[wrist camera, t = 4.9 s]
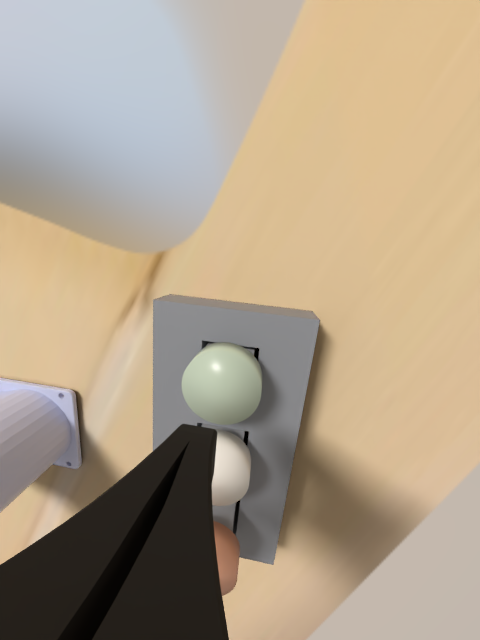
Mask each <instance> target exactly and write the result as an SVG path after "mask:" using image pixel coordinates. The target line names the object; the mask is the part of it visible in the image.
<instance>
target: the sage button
mask: <svg viewBox="0 0 480 640" xmlns="http://www.w3.org/2000/svg"><path fill="white" fill-rule="evenodd" d="M254 354H255V348H254V347H246V346H240V345H237V344H234V343H230V342H209V343H208V344H207V345H206V347H204V348H203V349H202V350H200V351H199V352H198V354H197V355H196V356H195V357H194V358H193V360H192V361H191V362H190V363H189V365H188V366H187V368H186V369H185V371H184V374H183V377H182V393H183V396H184V399H185V401H186V403H187V404H188V406H189V407H190V408H191V410H192V411H193V412H194V413H195V414H197V415H198V416H199V417H201V418H202V419H204V420H206V421H208V422H211V423H215V424H221V425H230V424H235V423H239V422H241V421H243V420H245V419H247V418H248V417H250V416H251V415H252V414H253V413H254V411H255V410H256V409H257V407H258V405H259V402H260V399H261V391H262V371H261V367H260V365H259V363H258V361H257V359H256V358H255V357H254Z"/></svg>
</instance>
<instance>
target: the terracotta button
mask: <svg viewBox="0 0 480 640" xmlns="http://www.w3.org/2000/svg"><path fill="white" fill-rule="evenodd" d="M212 506H213V505H212ZM235 508H236V503H233V504H230V505H226V506H213V522H214V534H215V544H216V554H217V562H218V570H219V578H220V586H221V593H222V596H223V595H225V594H227V593H229V592H230V591H231V590H233V588H234V587H235V585H236V582H237V574H238V565H239V555H240V544H239V541H238V539H237V537H236V536H235V534H234V533H233V532H232V531H233V524H234V517H235Z"/></svg>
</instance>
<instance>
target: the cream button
mask: <svg viewBox="0 0 480 640" xmlns="http://www.w3.org/2000/svg"><path fill="white" fill-rule="evenodd" d="M201 427H206V428H212V429H215V430H216V431H217V444H216V455H215V467H214V475H213V480H212V505H213V506H226V505H230V504H233V503H236V502H237V501H239V500H240V499H241V498H243V496H244V495H245V494H246V492H247V490H248V487H249V481H250V470H251V455H250V451H249V449H248V447H247V446H246V444H245V443H244V437H245V431H243V430H238V429H232V428H226V427H220V426H215V425H209V424H202V426H201Z"/></svg>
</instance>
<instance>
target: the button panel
mask: <svg viewBox="0 0 480 640" xmlns="http://www.w3.org/2000/svg"><path fill="white" fill-rule="evenodd" d="M319 322H320V320H319V318H318V317H317V316H316V315H315V314H314V313H313V311H306V310H298V309H290V308H281V307H273V306H264V305H256V304H248V303H239V302H231V301H222V300H214V299H206V298H197V297H189V296H180V295H172V294H170V295H166V296H163V297H160V298H157V299H154V300H153V451H154V450H155V449H156V448H157V447H158V446H159V445H160V444H161V443H162V442H163V441H165V440H166V439H167V438H168V437H169V436H170V435H171V434H172V433H173V432H174V431H175V430H176V429H177V428H178V427H179V426H180V425H181V424H189V425H194V426H200V427H201V426H202V424H209V425H215V426H220V427H226V428H232V429H238V430H243V431H249V436H248V444H247V447H248V449H249V451H250V455H251V470H250V481H249V487H248V490H247V492H246V494H245V495H244V496H243V498H241V499H240V503H236V508H235V517H234V524H233V531H232V532H233V533H234V534H235V536H236V537H237V539H238V541H239V544H240V555H239V557H241V558H245V559H250V560H254V561H259V562H263V563H267V564H272V565H273V564H274V559H275V554H276V549H277V543H278V538H279V533H280V527H281V522H282V517H283V512H284V506H285V501H286V496H287V491H288V485H289V480H290V475H291V470H292V464H293V459H294V454H295V449H296V443H297V438H298V433H299V428H300V422H301V417H302V412H303V407H304V401H305V396H306V391H307V385H308V380H309V375H310V370H311V364H312V359H313V354H314V349H315V343H316V338H317V333H318V328H319ZM209 342H230V343H234V344H237V345H240V346H246V347H254V348H260V349H259V357H258V363H259V365H260V367H261V371H262V391H261V399H260V402H259V405H258V407H257V409H256V410H255V411H254V413H253V414H252V415H251V416H250V417H248V418H247V419H245V420H243V421H241V422H239V423H235V424H230V425H221V424H215V423H211V422H208V421H206V420H204V419H202V418H201V417H199V416H198V415H197V414H195V413H194V412H193V411H192V410H191V408H190V407H189V406H188V404H187V403H186V401H185V399H184V396H183V393H182V377H183V374H184V371H185V369H186V368H187V366H188V365H189V363H190V362H191V361H192V360H193V358H194V357H195V356H196V355H197V354H198V352H199V351H200V350H202V349H203V348H204V347H206V345H207V344H208V343H209Z"/></svg>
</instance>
